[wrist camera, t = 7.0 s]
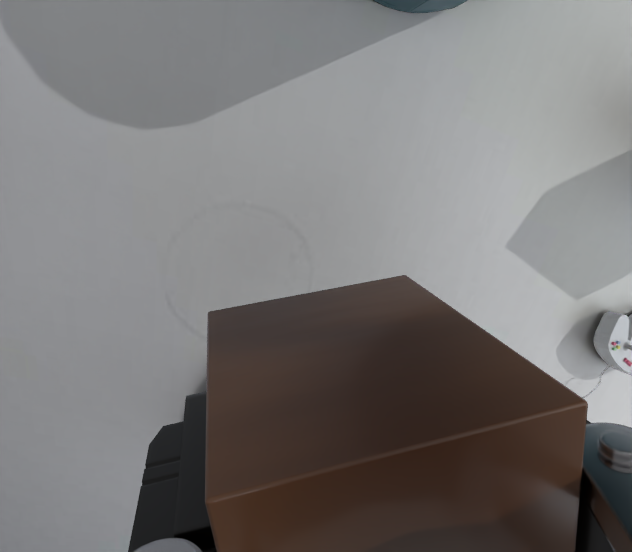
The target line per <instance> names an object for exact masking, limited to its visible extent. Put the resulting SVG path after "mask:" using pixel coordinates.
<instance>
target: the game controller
mask: <svg viewBox="0 0 632 552" xmlns="http://www.w3.org/2000/svg"><path fill="white" fill-rule="evenodd" d="M593 341H594V346H595V348H596V351H597V353H598V354H599V355H600V357H601V358H602V359H603V360H604V361H605V362H606V363H607V364H608V365H609V366H608V367H610V366H611V367H613V368H614V369H616V370H619V371H621V372H624V373H627V374H630V375H632V314H631V315H630V316H629V317H628V316H627V315H623V314H619V313H614V312H610V311H608V312H606V313H605V314H604V315H603V317H602V319H601V321H600V323H599V325H598V328H597V330H596V332H595V336H594V340H593ZM608 367H607V368H608ZM607 368H606V369H607ZM606 369H605V370H606ZM605 370H604V371H603V372H602V374H603V373H604V372H605ZM602 374H601V375H600V378H601V376H602ZM600 382H601V379H600ZM600 382H599V384H600ZM599 384H598V385H597V386H596V387H595V389H596V388H597V387H598V386H599ZM595 389H593V390H592V391H591V392H590V393H589V394H591V393H592V392H593V391H594V390H595ZM589 394H588V395H589ZM588 395H586V396H588ZM586 396H584V397H582V398H585V397H586Z"/></svg>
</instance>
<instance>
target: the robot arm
mask: <svg viewBox="0 0 632 552" xmlns="http://www.w3.org/2000/svg"><path fill="white" fill-rule="evenodd" d="M206 395H207V392H202V393H198V394H193V395H189V396H186V402H185V413H184V422H179V423H175V424H170V425H166V426H163V427H162V429H161V430H160V431H159V433H158V434H157V435H156V437H155V438H154V439H153V441H152V442H151V443H150V445H149V449H148V454H147V459H146V464H145V465H146V469H144V474H143V479H142V486H141V489H140V494H139V500H138V505H137V510H136V515H135V520H134V525H133V530H132V535H131V540H130V545H129V550H128V552H217V550H216V546H215V542H214V538H213V533H212V529H211V525H210V521H209V517H208V513H207V509H206V505H205V458H206ZM575 552H632V428H631V427H627V426H624V425H619V424H613V423H590V422H589V421H587V420H586V432H585V443H584V455H583V466H582V478H581V489H580V501H579V512H578V524H577V536H576V547H575Z"/></svg>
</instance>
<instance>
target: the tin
mask: <svg viewBox="0 0 632 552" xmlns="http://www.w3.org/2000/svg"><path fill="white" fill-rule="evenodd" d="M374 1H376V2H378V3H380V4H382V5H384V6H386V7H389V8H393V9H396V10H399V11H405V12H412V13H428V12H434V11H440V10H444V9H451V8H454V7H456V6H458V5H460V4H462V3H464V2H466V1H467V0H374Z"/></svg>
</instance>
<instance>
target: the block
mask: <svg viewBox="0 0 632 552" xmlns="http://www.w3.org/2000/svg"><path fill="white" fill-rule="evenodd" d="M587 408H588V404H587V402H586V400H584V399H583V398H581V397H580V396H578V395H577V394H576V393H574V392H573V391H571V390H570V389H568V388H567V387H566V386H564V385H563V384H561V383H560V382H558V381H557V380H555V379H554V378H553V377H551V376H550V375H548V374H547V373H545V372H544V371H543V370H541V369H540V368H538V367H537V366H535V365H534V364H532V363H531V362H530V361H528V360H527V359H525V358H524V357H522V356H521V355H520V354H518V353H517V352H515V351H514V350H512V349H511V348H509V347H508V346H507V345H505V344H504V343H502V342H501V341H499V340H498V339H497V338H495V337H494V336H492V335H491V334H489V333H488V332H486V331H485V330H484V329H482V328H481V327H479V326H478V325H476V324H475V323H474V322H472V321H471V320H469V319H468V318H466V317H465V316H463V315H462V314H461V313H459V312H458V311H456V310H455V309H453V308H452V307H451V306H449V305H448V304H446V303H445V302H443V301H442V300H440V299H439V298H438V297H436V296H435V295H433V294H432V293H430V292H429V291H428V290H426V289H425V288H423V287H422V286H420V285H419V284H417V283H416V282H415V281H413V280H412V279H410V278H409V277H407V276H406V275H402V276H397V277H392V278H386V279H381V280H376V281H370V282H365V283H360V284H354V285H349V286H344V287H338V288H333V289H328V290H322V291H317V292H312V293H306V294H301V295H296V296H290V297H285V298H280V299H274V300H269V301H264V302H258V303H253V304H248V305H242V306H237V307H232V308H226V309H221V310H216V311H210V312H208V331H207V395H206V458H205V505H206V509H207V513H208V517H209V521H210V525H211V529H212V533H213V538H214V542H215V546H216V550H217V552H575V547H576V536H577V524H578V512H579V501H580V489H581V478H582V466H583V455H584V443H585V432H586V420H587Z"/></svg>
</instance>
